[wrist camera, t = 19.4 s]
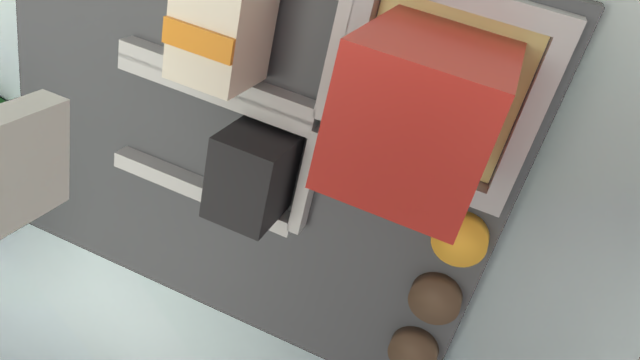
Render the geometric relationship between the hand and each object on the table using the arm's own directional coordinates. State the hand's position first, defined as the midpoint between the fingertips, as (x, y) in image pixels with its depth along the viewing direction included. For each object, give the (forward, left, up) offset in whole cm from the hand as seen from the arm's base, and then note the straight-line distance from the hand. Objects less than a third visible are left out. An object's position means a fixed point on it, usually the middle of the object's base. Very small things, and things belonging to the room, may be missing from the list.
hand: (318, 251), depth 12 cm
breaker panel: (-8, -6, -14) cm, 17 cm away
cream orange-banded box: (-8, 0, -12) cm, 15 cm away
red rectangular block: (0, 0, -13) cm, 13 cm away
